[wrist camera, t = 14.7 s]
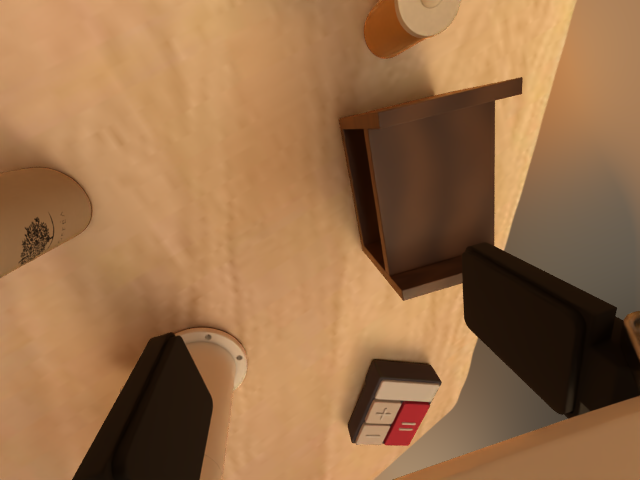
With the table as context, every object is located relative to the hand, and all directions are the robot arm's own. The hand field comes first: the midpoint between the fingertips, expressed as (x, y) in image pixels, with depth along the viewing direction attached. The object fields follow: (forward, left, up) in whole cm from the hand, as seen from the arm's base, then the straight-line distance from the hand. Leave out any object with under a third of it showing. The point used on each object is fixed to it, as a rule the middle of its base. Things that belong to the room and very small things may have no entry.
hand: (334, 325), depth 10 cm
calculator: (+8, -40, -28) cm, 50 cm away
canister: (+15, +13, -28) cm, 34 cm away
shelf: (+14, -3, -28) cm, 32 cm away
